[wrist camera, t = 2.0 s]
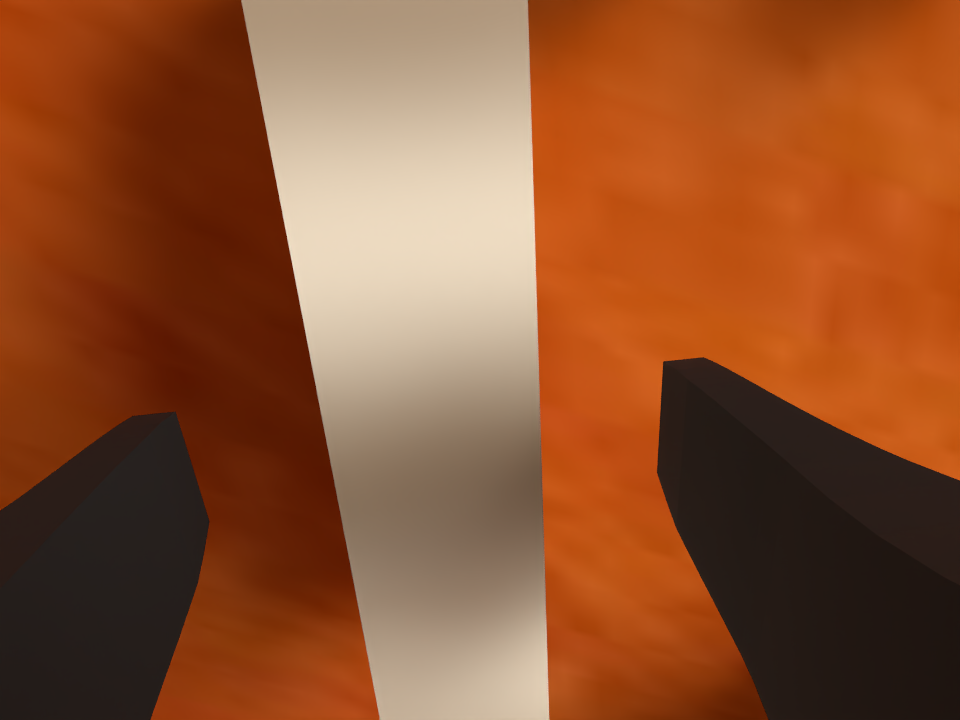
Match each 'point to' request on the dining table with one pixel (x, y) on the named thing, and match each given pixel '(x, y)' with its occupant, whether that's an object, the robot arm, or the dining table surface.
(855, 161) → the dining table surface
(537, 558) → the birch rail
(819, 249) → the dining table surface
